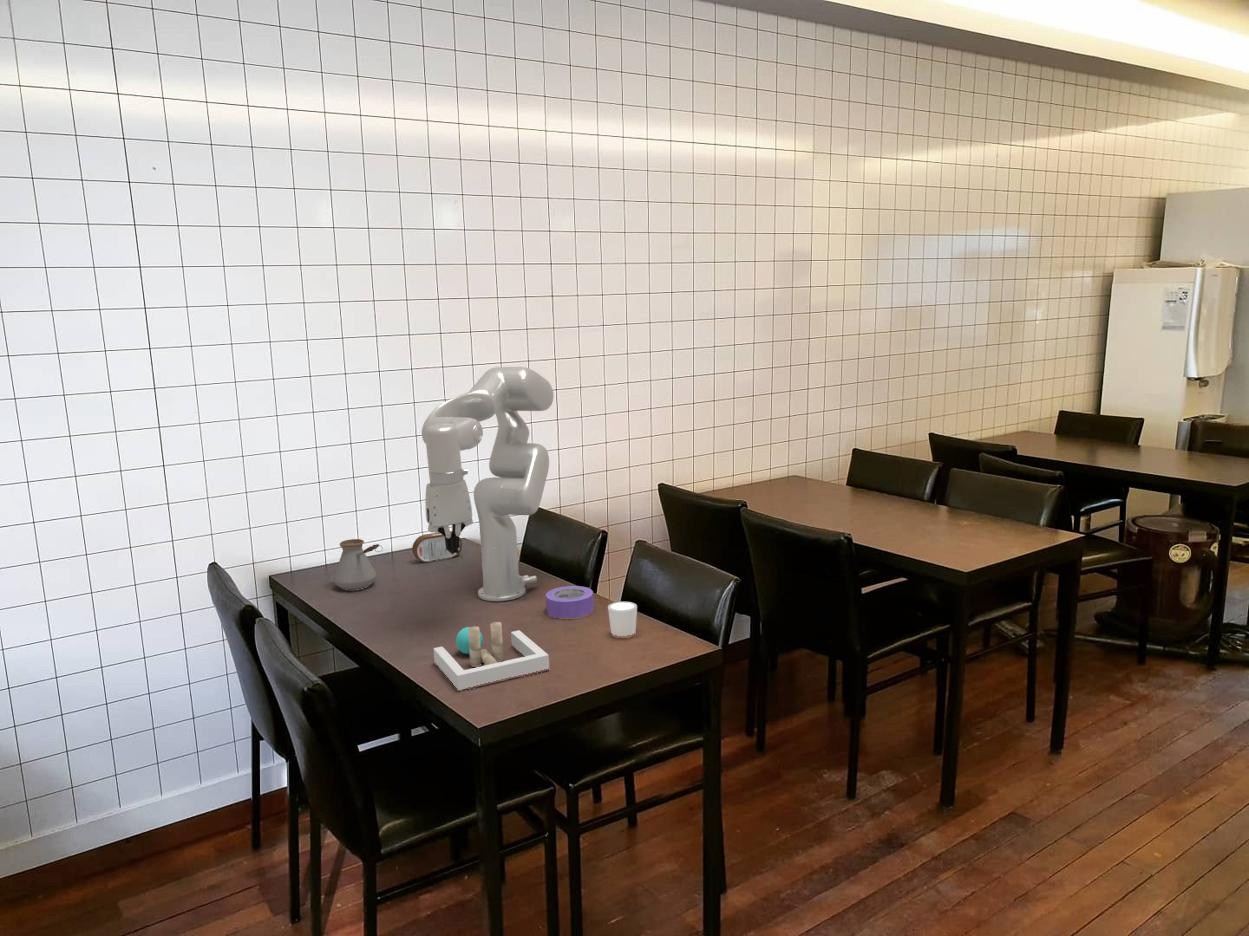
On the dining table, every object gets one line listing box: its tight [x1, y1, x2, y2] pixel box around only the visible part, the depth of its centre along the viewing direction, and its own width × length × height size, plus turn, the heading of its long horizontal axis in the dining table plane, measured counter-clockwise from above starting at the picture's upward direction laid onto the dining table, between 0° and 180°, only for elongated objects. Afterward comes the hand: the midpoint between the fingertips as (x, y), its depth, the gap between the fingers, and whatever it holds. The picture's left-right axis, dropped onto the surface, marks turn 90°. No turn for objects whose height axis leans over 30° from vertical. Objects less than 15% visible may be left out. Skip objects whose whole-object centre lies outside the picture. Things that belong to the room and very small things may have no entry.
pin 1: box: [468, 626, 483, 666], centre depth 201 cm, size 2×2×8 cm
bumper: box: [433, 629, 550, 691], centre depth 200 cm, size 20×17×4 cm
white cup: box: [607, 601, 638, 636], centre depth 216 cm, size 7×7×7 cm
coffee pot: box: [333, 538, 384, 590], centre depth 253 cm, size 21×12×15 cm, turn 43°
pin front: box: [481, 648, 498, 666], centre depth 201 cm, size 2×2×8 cm
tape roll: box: [545, 585, 595, 618], centre depth 233 cm, size 12×12×5 cm
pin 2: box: [490, 621, 504, 661], centre depth 203 cm, size 2×2×8 cm
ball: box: [455, 626, 484, 655], centre depth 208 cm, size 6×6×6 cm
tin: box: [412, 530, 463, 563], centre depth 281 cm, size 15×3×8 cm, turn 120°
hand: (453, 551), depth 220 cm, fingers closed
